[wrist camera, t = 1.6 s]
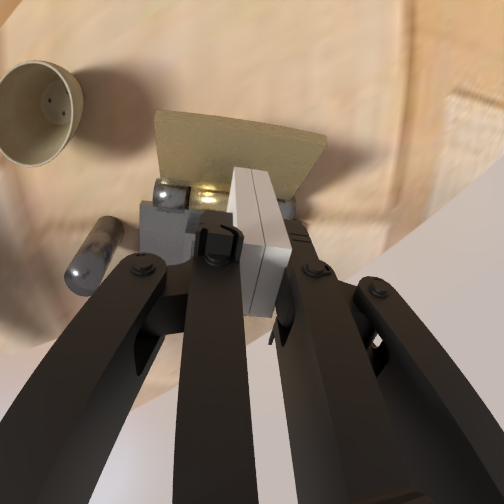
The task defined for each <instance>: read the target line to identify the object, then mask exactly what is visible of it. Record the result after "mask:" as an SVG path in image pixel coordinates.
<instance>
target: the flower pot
mask: <svg viewBox="0 0 504 504" xmlns="http://www.w3.org/2000/svg"><path fill="white" fill-rule="evenodd" d="M67 90H68V92H66V91H67ZM50 100H51V102H49V101H50ZM83 104H84V101H83V93H82V90H81V87H80V85H79V83H78V82H77V80H76V79H75V77H74V76H73V75H72V74H71V73H69V72H68V71H67V70H66V69H64V68H62V67H60V66H58V65H56V64H53V63H50V62H45V61H36V60H34V61H26V62H23V63H20V64H18V65H16V66H14V67H13V68H12V69H10V70H9V71H8V72H7V73H6V74H5V75H4V76H3V77H2V78H1V80H0V151H1V152H2V153H3V155H4V156H5V157H7V158H8V159H9V160H10V161H12V162H13V163H15V164H17V165H20V166H24V167H37V166H41V165H44V164H46V163H48V162H50V161H51V160H53V159H54V158H55V157H56V156H57V155H58V154H59V153H60V152H61V151H62V150H63V149H64V148H65V146H66V145H67V144H68V142H69V141H70V139H71V138H72V136H73V135H74V133H75V131H76V129H77V127H78V125H79V123H80V120H81V117H82V112H83ZM64 112H65V113H64Z"/></svg>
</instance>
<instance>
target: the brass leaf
mask: <svg viewBox="0 0 504 504" xmlns="http://www.w3.org/2000/svg"><path fill="white" fill-rule="evenodd" d="M154 129H155V138H156V146H157V154H158V162H159V170H160V177H161V184H171V185H180V186H188V187H191V193H190V200H189V210H193V211H201V212H205V211H206V210H213V211H221V212H227V206H228V200H229V194H230V188H231V182H232V177H233V171H234V167H241V168H248V169H255V170H261V171H267V172H268V174H269V177H270V180H271V184H272V187H273V190H274V193H275V196H276V198H278V199H284V200H291V198H292V197H293V195H294V194H295V192H296V191H297V189H298V188H299V187H300V185H301V184H302V182H303V181H304V179H305V178H306V176H307V175H308V173H309V172H310V170H311V169H312V167H313V166H314V164H315V163H316V161H317V160H318V158H319V157H320V155H321V154H322V152H323V151H324V149H325V148H326V147H327V140H326V136H325V135H320V134H316V133H311V132H307V131H302V130H297V129H292V128H287V127H282V126H277V125H271V124H265V123H260V122H254V121H247V120H241V119H234V118H227V117H220V116H212V115H204V114H195V113H186V112H176V111H164V110H156V114H155V117H154Z"/></svg>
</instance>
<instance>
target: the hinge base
mask: <svg viewBox="0 0 504 504" xmlns="http://www.w3.org/2000/svg"><path fill="white" fill-rule="evenodd" d="M187 191H188V186H180V185H171V184H161V179H159V178H157V179H156V182H155V186H154V192H153V202H151V201H141V203H140V225H139V249H140V253H142V252H145V253H152V254H155V255H157V256H160V257H161V258H162V259H163V260H164V261H165V262H166V265H167V266H168V265H176V264H181V263H184V262H186V261H188V260H189V259H191V258H192V256H193V254H194V244H195V235H196V230H197V228H198V227H199V220H200V215H201V214H202V213H204V212H201V211H193V210H189V206H187V205H186V200H187ZM276 199H277V202H278V205H279V209H280V212H281V215H282V218H283V219H288V220H293V218H294V215H295V209H296V200H295V197H294V196H293V197H292V198H291V200H284V199H278V198H276ZM294 221H299V222H300V223H301V221H300V220H294ZM301 224H302V223H301Z"/></svg>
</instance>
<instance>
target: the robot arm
mask: <svg viewBox="0 0 504 504" xmlns="http://www.w3.org/2000/svg"><path fill="white" fill-rule="evenodd" d="M275 307H276V313H277V317H276V320H275V323H274V326H273V329H272V332H271V335H270V338H269V345H272V342H273V339H274V338H275V342H276V349H277V356H278V363H279V369H280V376H281V384H282V391H283V398H284V404H285V411H286V419H287V426H288V433H289V440H290V448H291V455H292V462H293V469H294V476H295V483H296V491H297V498H298V504H504V432H503V430H502V429H501V427H500V426H499V424H498V423H497V421H496V420H495V418H494V417H493V415H492V414H491V412H490V411H489V409H488V408H487V407H486V405H485V404H484V402H483V401H482V399H481V398H480V397H479V395H478V394H477V392H476V391H475V390H474V388H473V387H472V386H471V384H470V383H469V381H468V380H467V379H466V377H465V376H464V375H463V373H462V372H461V371H460V369H459V368H458V367H457V365H456V364H455V363H454V362H453V360H452V359H451V357H450V356H449V355H448V353H447V352H446V351H445V350H444V348H443V347H442V346H441V345H440V343H439V342H438V341H437V339H436V338H435V337H434V336H433V334H432V333H431V332H430V331H429V329H428V328H427V327H426V326H425V325H424V323H423V322H422V321H421V320H420V319H419V317H418V316H417V315H416V314H415V313H414V311H413V310H412V309H411V308H410V306H409V305H408V304H407V303H406V302H405V300H404V299H403V298H402V297H401V296H400V295H399V293H398V292H397V291H396V290H395V289H394V288H393V287H392V286H391V285H390V284H389V283H387V282H386V281H384V280H383V279H380V278H378V277H370V276H367V277H363V278H362V279H361V280H360V281H359V284H358V286H354V285H351V284H348V283H345V282H342V281H339V280H338V279H337V277H336V274H335V272H334V271H333V269H332V268H331V267H330V266H329V265H328V264H326V263H325V262H323V261H321V260H319V259H318V256H317V254H316V251H315V249H314V246H313V244H312V241H311V239H310V237H309V234H308V232H307V229H306V228H305V227H304V226H303V225H302V224H301V223H300V222H299V221H294V220H288V219H283V218H282V215H281V212H280V209H279V205H278V202H277V199H276V196H275V193H274V190H273V187H272V184H271V180H270V177H269V174H268V172H267V171H261V170H255V169H248V168H241V167H234V171H233V177H232V182H231V188H230V194H229V200H228V206H227V212H221V211H213V210H206V211H205V212H204V213H202V214H201V215H200V220H199V227H198V228H197V230H196V235H195V244H194V254H193V256H192V258H191V259H189V260H188V261H186V262H184V263H181V264H176V265H168V266H167V265H166V262H165V261H164V260H163V259H162V258H161V257H160V256H157V255H155V254H152V253H145V252H142V253H134V254H131V255H128V256H126V257H125V258H124V259H122V260H121V261H120V262H119V264H118V265H117V266H116V267H115V268H114V269H113V271H112V272H111V273H110V274H109V275H108V276H107V278H106V279H105V280H104V281H103V282H102V284H101V285H100V286H99V287H98V288H97V290H96V291H95V292H94V293H93V295H92V296H91V297H90V298H89V299H88V301H87V302H86V303H85V304H84V306H83V307H82V308H81V309H80V311H79V312H78V313H77V314H76V316H75V317H74V318H73V320H72V321H71V322H70V323H69V325H68V326H67V327H66V329H65V330H64V331H63V332H62V334H61V335H60V336H59V338H58V339H57V340H56V342H55V343H54V345H53V346H52V347H51V348H50V350H49V351H48V353H47V354H46V355H45V357H44V358H43V359H42V361H41V362H40V364H39V365H38V367H37V368H36V369H35V371H34V372H33V374H32V375H31V377H30V378H29V379H28V381H27V382H26V384H25V385H24V387H23V388H22V390H21V391H20V393H19V394H18V395H17V397H16V399H15V400H14V402H13V403H12V405H11V406H10V408H9V409H8V411H7V413H6V414H5V416H4V417H3V419H2V420H1V422H0V504H88V503H89V500H90V498H91V496H92V493H93V491H94V489H95V486H96V484H97V482H98V479H99V477H100V475H101V473H102V470H103V468H104V466H105V464H106V462H107V459H108V457H109V455H110V453H111V450H112V448H113V446H114V444H115V442H116V439H117V437H118V435H119V433H120V431H121V428H122V426H123V424H124V422H125V420H126V418H127V416H128V414H129V411H130V409H131V407H132V405H133V403H134V401H135V399H136V397H137V395H138V393H139V390H140V388H141V386H142V384H143V382H144V380H145V378H146V376H147V374H148V372H149V370H150V368H151V366H152V364H153V362H154V360H155V358H156V356H157V354H158V352H159V349H160V347H161V345H162V343H163V341H164V339H165V335H168V334H175V333H182V332H184V337H183V346H182V356H181V367H180V378H179V391H178V403H177V417H176V432H175V450H174V471H173V498H172V499H173V500H172V503H173V504H259V501H258V491H257V479H256V468H255V457H254V446H253V434H252V421H251V409H250V397H249V384H248V371H247V358H246V345H245V332H244V318H243V315H244V316H248V314H249V316H256V317H269V318H272V314H273V311H274V308H275ZM377 334H379V336H380V337H381V338H382V340H383V341H382V342H381V344H380V346H379V347H377V346H376V345H375V344H374V343H373V340H374V339H375V337H376V336H377Z"/></svg>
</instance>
